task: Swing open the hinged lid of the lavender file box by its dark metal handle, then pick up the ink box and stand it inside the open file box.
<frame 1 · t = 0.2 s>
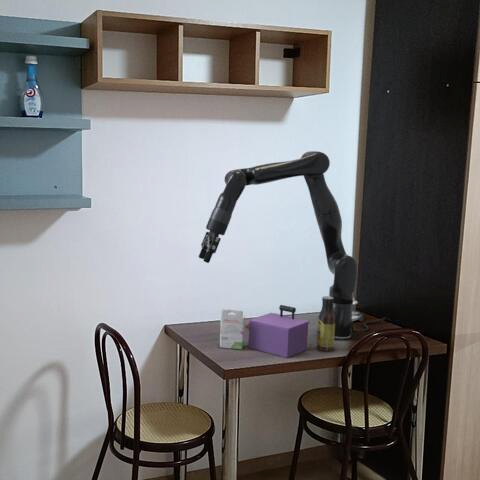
hand: (203, 260, 244), 31 cm above the table, tool tilted 20°, fingers open, 8 cm apart
ink box: (231, 347, 240), on the table
toy car: (343, 320, 282), on the table
sunglasses case: (267, 327, 269), on the table
file box: (277, 348, 239), on the table
sauce bottle: (324, 349, 240), on the table
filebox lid: (279, 315, 238), point 12 cm above the table, hinge at 0.0°
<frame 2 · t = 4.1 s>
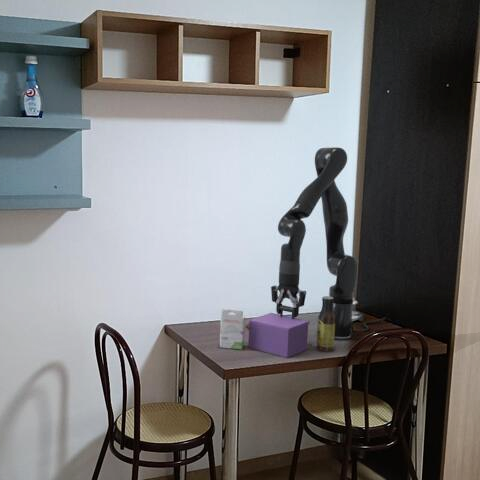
hand: (287, 315, 242), 12 cm above the table, tool pointing down, fingers closed on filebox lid, 6 cm apart
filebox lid: (279, 315, 238), point 12 cm above the table, hinge at 0.0°, touching gripper
everything else where it was.
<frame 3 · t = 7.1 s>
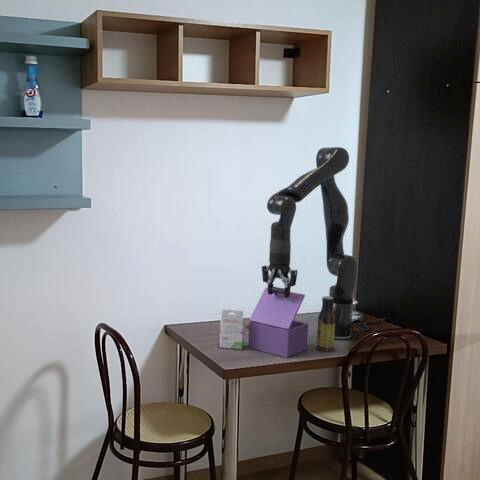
hand: (278, 295, 236), 20 cm above the table, tool pointing down, fingers closed on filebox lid, 6 cm apart
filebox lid: (274, 304, 235), point 17 cm above the table, hinge at 46.6°, touching gripper
everything else where it was.
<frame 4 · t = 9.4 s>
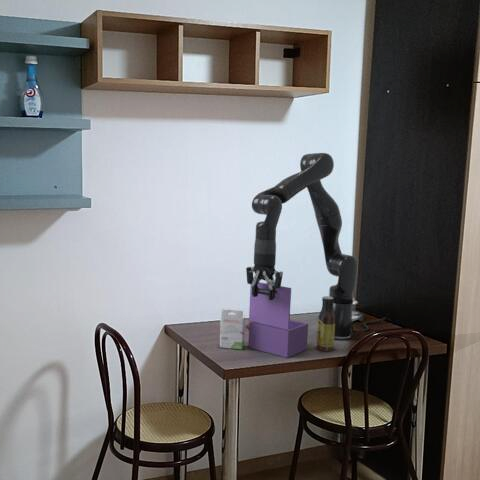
hand: (263, 297, 228), 21 cm above the table, tool pointing down, fingers closed on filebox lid, 6 cm apart
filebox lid: (266, 305, 230), point 18 cm above the table, hinge at 89.6°, touching gripper
everything else where it was.
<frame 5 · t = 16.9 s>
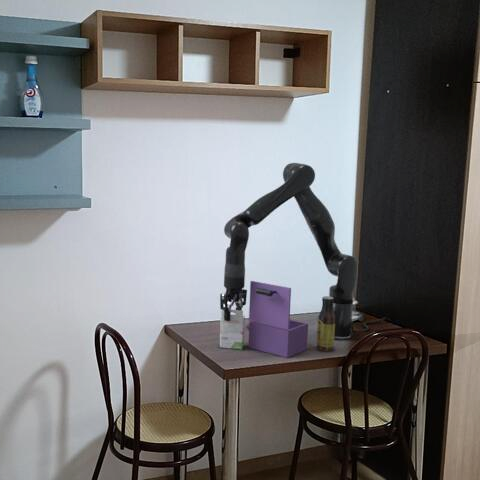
hand: (232, 318, 238), 11 cm above the table, tool pointing down, fingers closed on ink box, 6 cm apart
ink box: (231, 347, 240), on the table, touching gripper
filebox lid: (266, 305, 230), point 18 cm above the table, hinge at 90.2°
everything else where it was.
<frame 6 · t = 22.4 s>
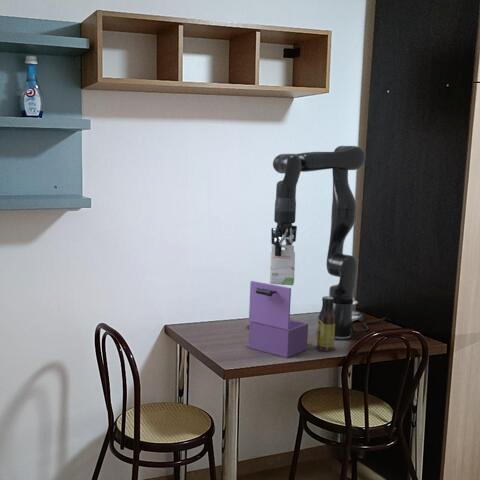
hand: (283, 254, 235), 35 cm above the table, tool pointing down, fingers closed on ink box, 6 cm apart
ink box: (281, 284, 237), point 24 cm above the table, touching gripper
everything else where it was.
when the fingers open (12 cm above the table, at t = 28.0 s): ink box stays where it is, resting on file box.
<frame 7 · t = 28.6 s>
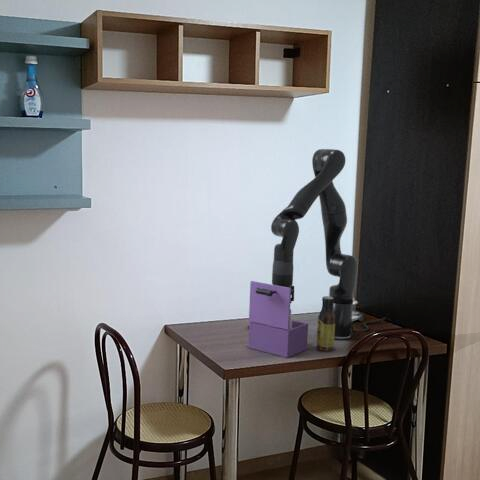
hand: (280, 315, 238), 12 cm above the table, tool pointing down, fingers open, 8 cm apart
ink box: (279, 346, 240), point 1 cm above the table, touching file box
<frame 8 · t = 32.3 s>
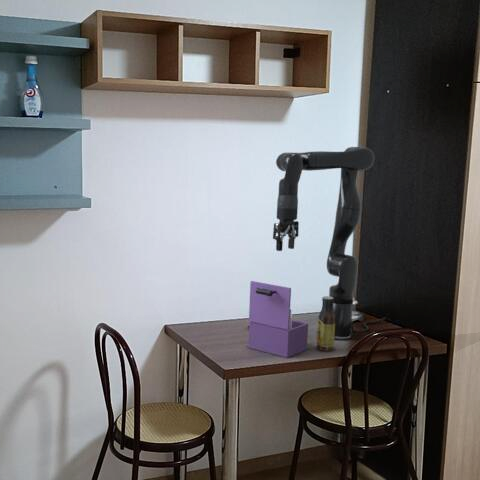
hand: (285, 249, 242), 36 cm above the table, tool pointing down, fingers open, 8 cm apart
at the end: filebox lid at +90° (first picture: +0°); ink box inside the target area in the file box (1.1 cm from its centre), point 0.6 cm above the file box's base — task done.
